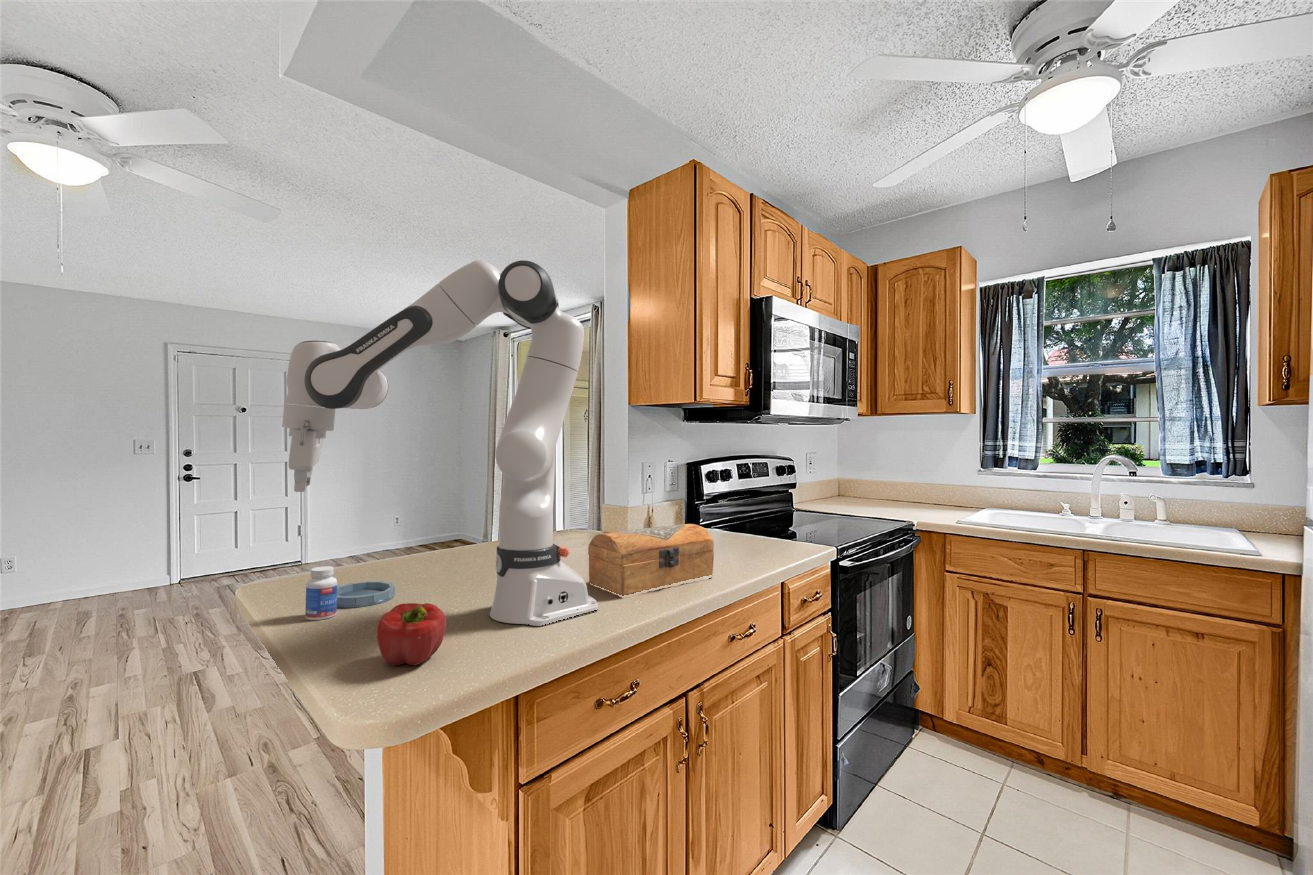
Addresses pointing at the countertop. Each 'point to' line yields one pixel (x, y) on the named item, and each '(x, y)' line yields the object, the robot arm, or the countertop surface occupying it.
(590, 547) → the wooden box
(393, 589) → the dish
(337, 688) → the countertop surface
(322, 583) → the pill bottle
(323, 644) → the countertop surface
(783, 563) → the countertop surface
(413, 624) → the vegetable
